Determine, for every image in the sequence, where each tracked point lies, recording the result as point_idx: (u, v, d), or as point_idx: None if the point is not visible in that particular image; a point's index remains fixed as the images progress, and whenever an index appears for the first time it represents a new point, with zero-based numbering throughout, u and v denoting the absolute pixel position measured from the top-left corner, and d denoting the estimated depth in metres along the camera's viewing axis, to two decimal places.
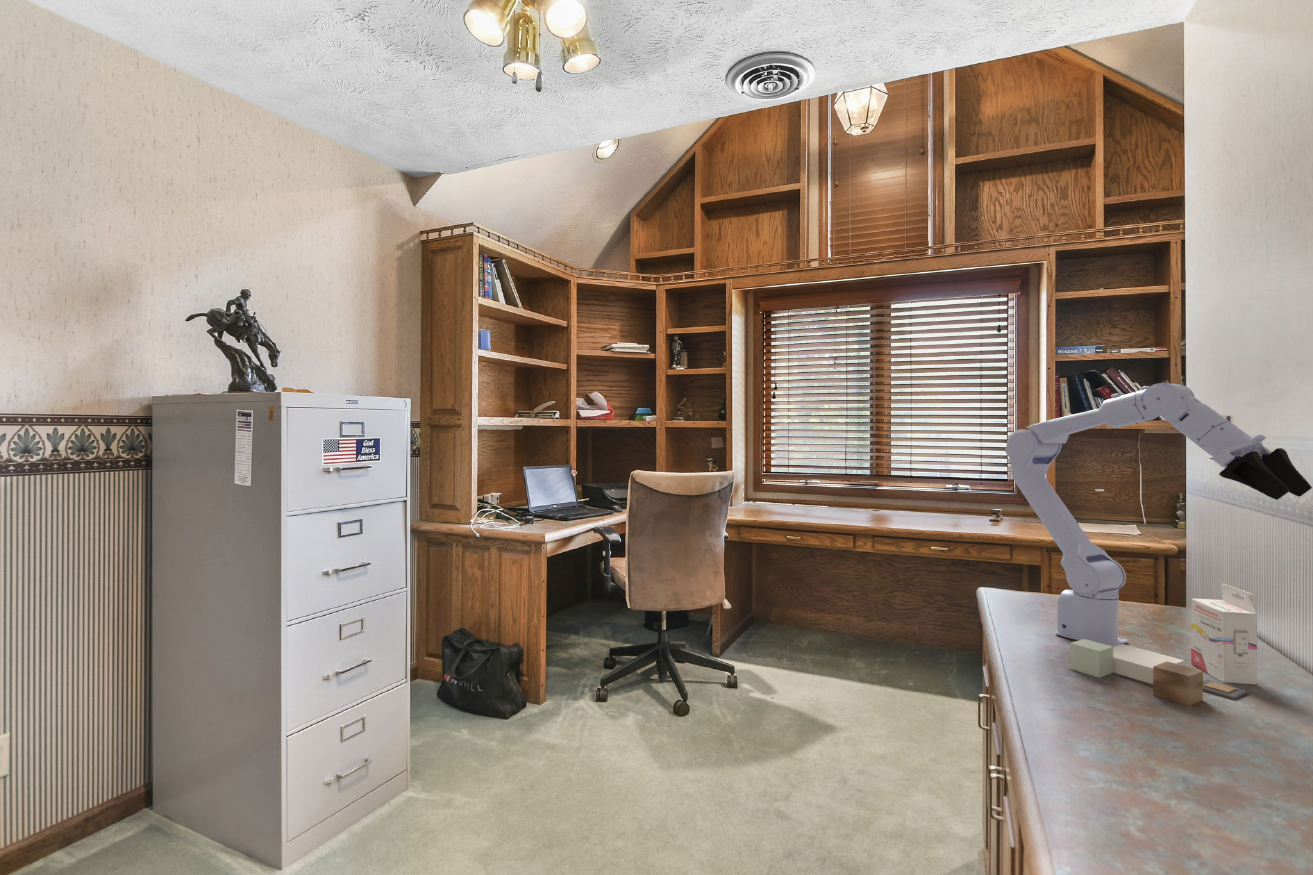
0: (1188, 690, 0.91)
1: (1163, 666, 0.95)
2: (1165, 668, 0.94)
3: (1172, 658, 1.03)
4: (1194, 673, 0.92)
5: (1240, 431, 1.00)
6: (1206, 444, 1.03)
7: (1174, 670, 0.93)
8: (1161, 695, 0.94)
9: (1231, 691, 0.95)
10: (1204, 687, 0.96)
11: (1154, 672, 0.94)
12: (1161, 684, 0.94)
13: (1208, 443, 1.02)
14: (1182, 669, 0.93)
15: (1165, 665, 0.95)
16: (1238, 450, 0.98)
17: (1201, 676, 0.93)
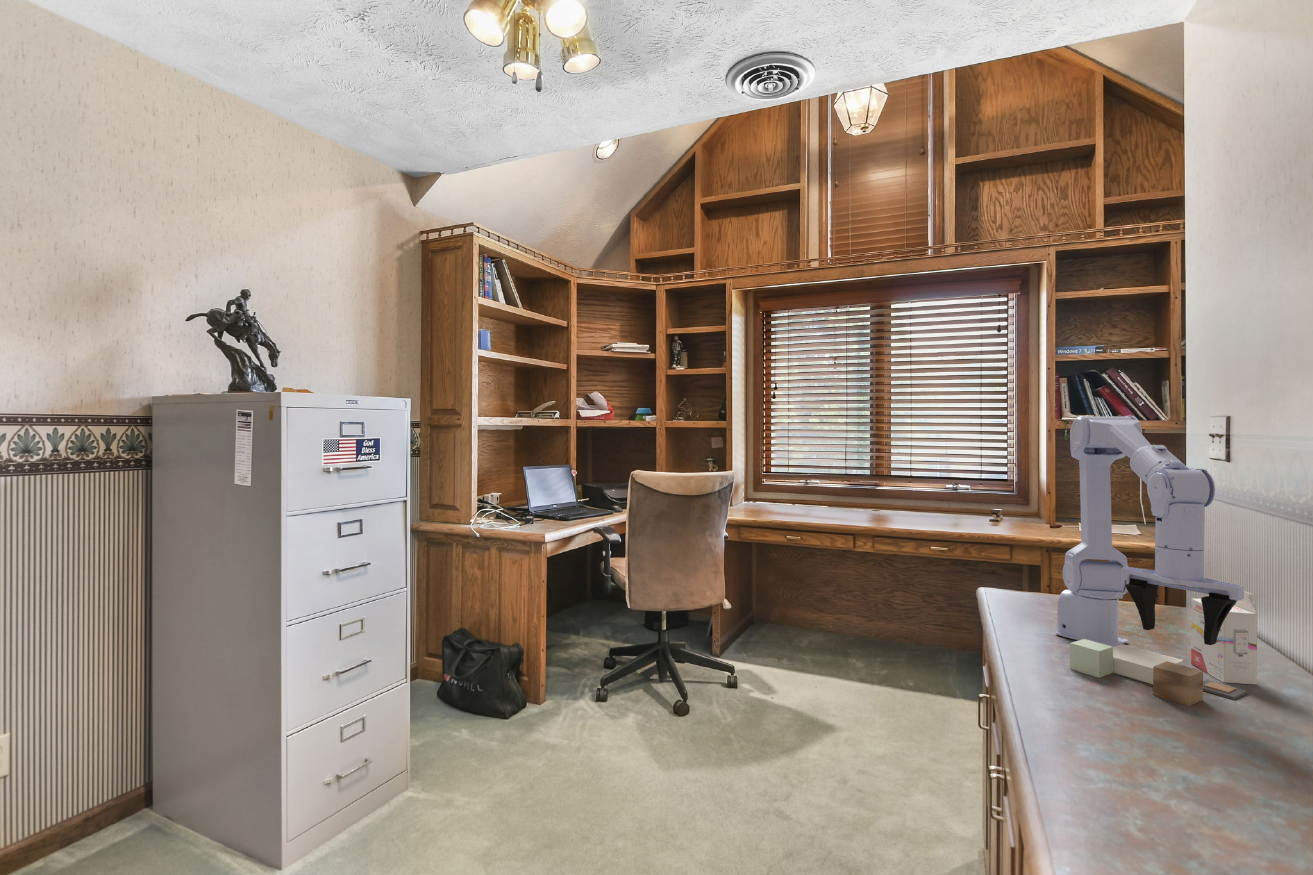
0: (1188, 690, 0.91)
1: (1163, 666, 0.95)
2: (1165, 668, 0.94)
3: (1172, 658, 1.03)
4: (1194, 673, 0.92)
5: (1167, 564, 0.93)
6: None
7: (1174, 670, 0.93)
8: (1161, 695, 0.94)
9: (1231, 691, 0.95)
10: (1204, 687, 0.96)
11: (1154, 672, 0.94)
12: (1161, 684, 0.94)
13: None
14: (1182, 669, 0.93)
15: (1165, 665, 0.95)
16: (1144, 576, 0.96)
17: (1201, 676, 0.93)
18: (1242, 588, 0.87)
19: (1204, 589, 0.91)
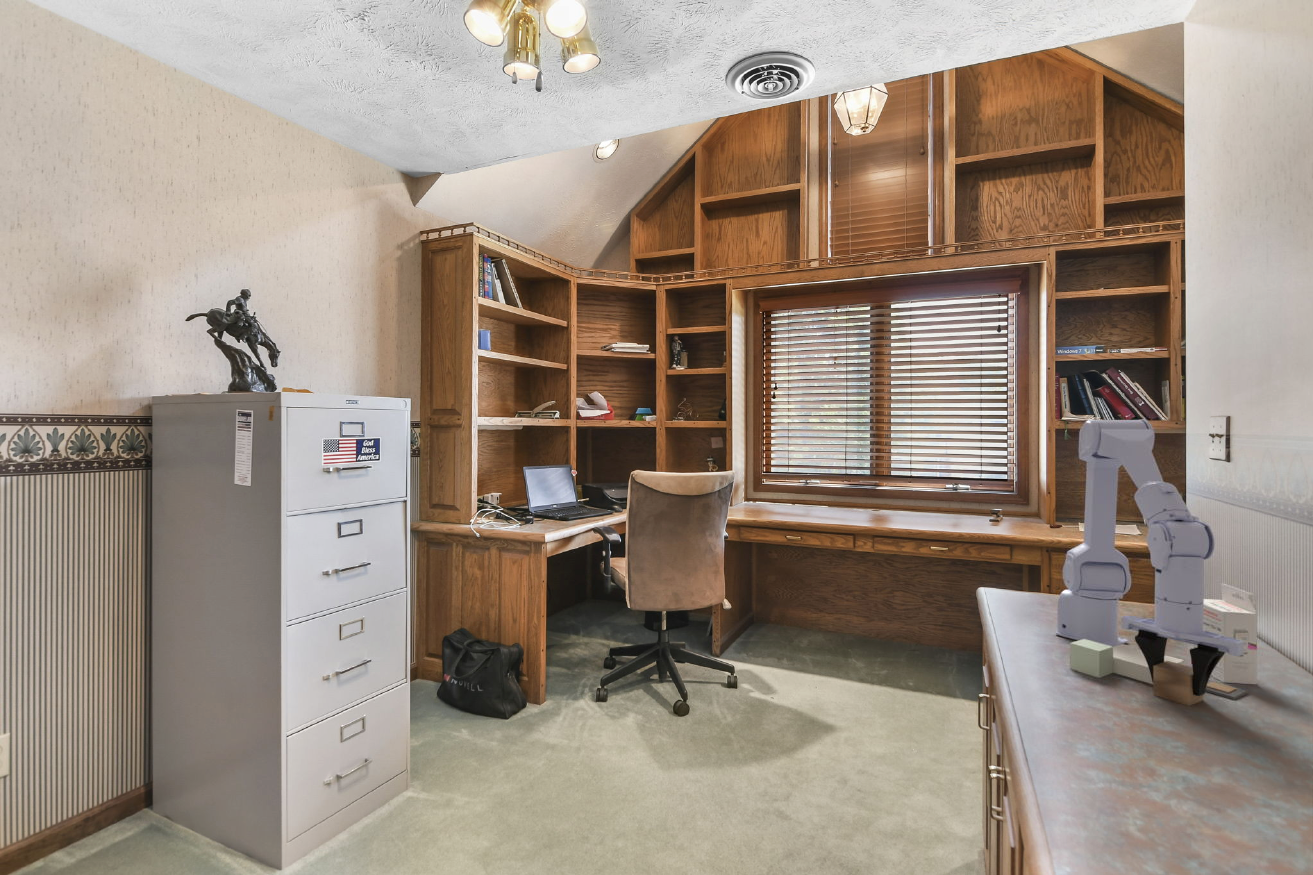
0: (1188, 689, 0.91)
1: (1163, 665, 0.94)
2: (1165, 667, 0.94)
3: (1172, 658, 1.03)
4: None
5: (1166, 616, 0.93)
6: None
7: (1174, 669, 0.93)
8: (1161, 694, 0.94)
9: (1231, 691, 0.95)
10: None
11: (1154, 671, 0.94)
12: (1161, 683, 0.94)
13: None
14: (1182, 668, 0.93)
15: (1165, 664, 0.95)
16: None
17: None
18: (1241, 644, 0.87)
19: (1203, 643, 0.91)
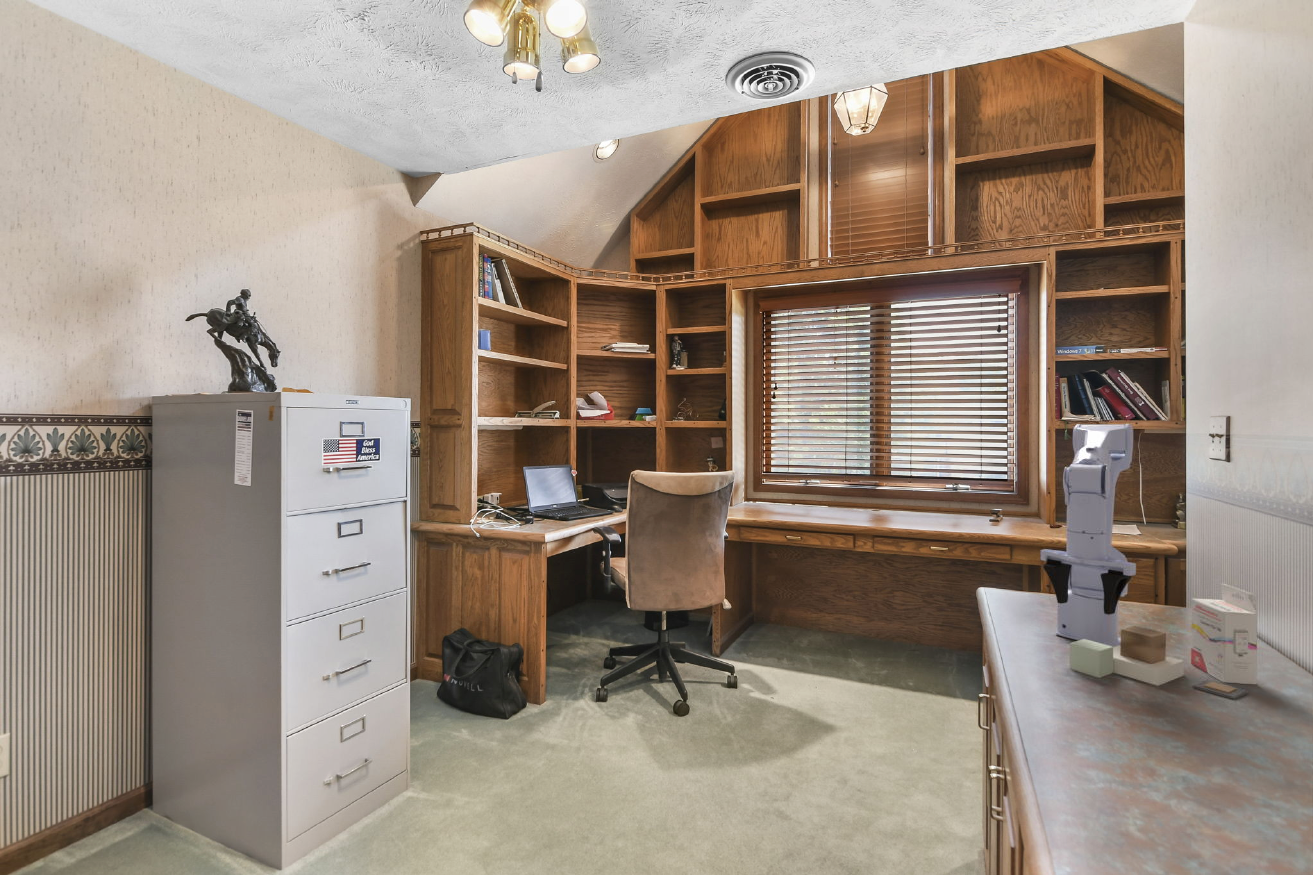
0: (1150, 649, 1.01)
1: (1130, 629, 1.05)
2: (1131, 630, 1.04)
3: (1171, 658, 1.03)
4: (1157, 634, 1.02)
5: (1074, 545, 1.08)
6: None
7: (1139, 632, 1.03)
8: (1127, 655, 1.04)
9: (1231, 691, 0.95)
10: (1204, 687, 0.96)
11: (1121, 634, 1.04)
12: (1127, 644, 1.04)
13: None
14: (1147, 631, 1.03)
15: (1132, 628, 1.05)
16: None
17: (1164, 638, 1.02)
18: (1134, 565, 1.03)
19: (1105, 567, 1.06)
